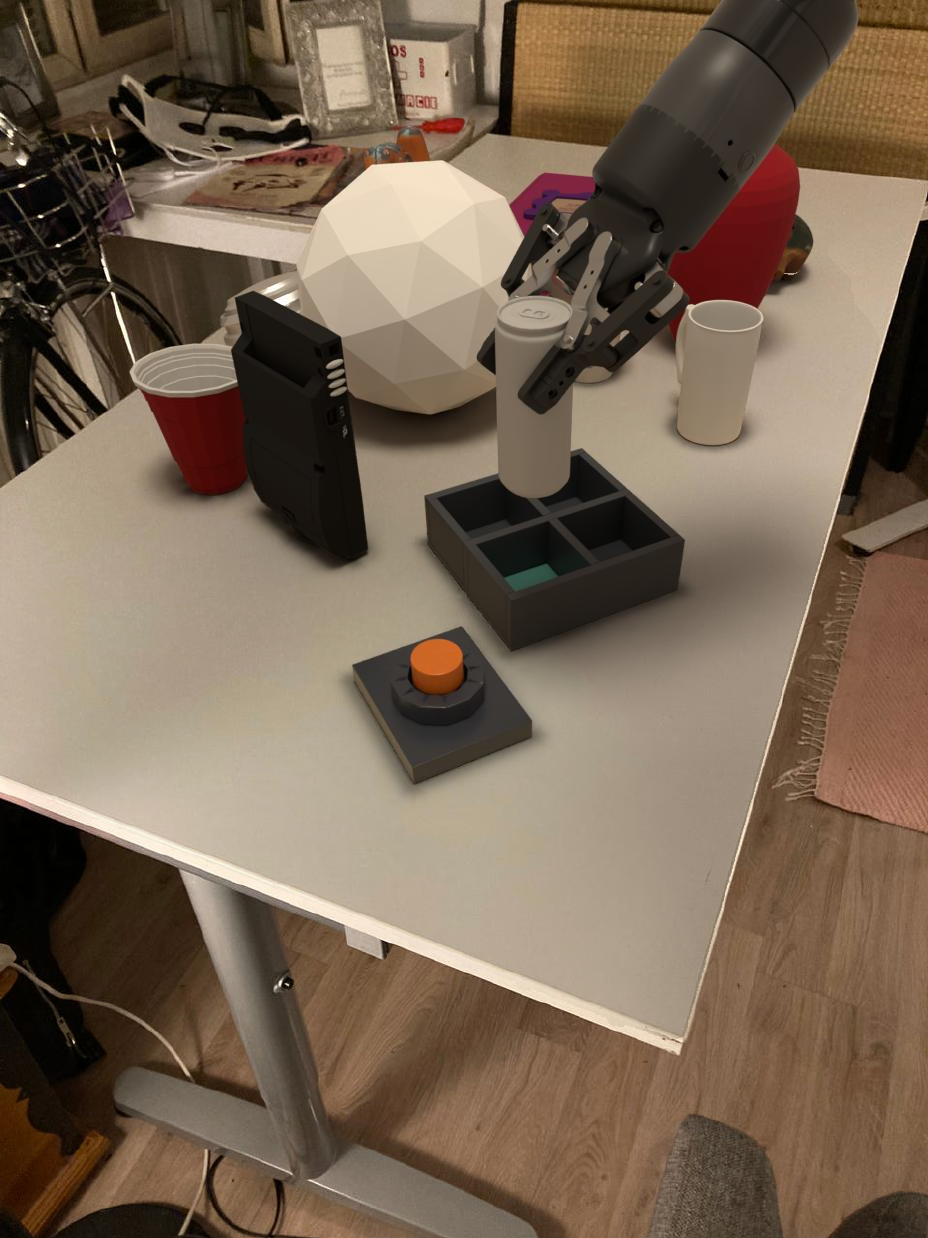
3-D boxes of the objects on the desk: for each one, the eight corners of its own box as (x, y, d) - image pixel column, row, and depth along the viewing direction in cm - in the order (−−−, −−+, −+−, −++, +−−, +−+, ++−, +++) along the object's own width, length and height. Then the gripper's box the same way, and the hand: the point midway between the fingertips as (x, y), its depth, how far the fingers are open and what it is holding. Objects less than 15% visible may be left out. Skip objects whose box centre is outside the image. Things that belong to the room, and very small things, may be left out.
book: (462, 297, 123) (460, 236, 118) (533, 220, 142) (534, 165, 137) (624, 319, 117) (629, 256, 112) (676, 236, 136) (682, 179, 131)
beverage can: (554, 508, 63) (558, 335, 55) (486, 492, 65) (481, 322, 57) (579, 469, 66) (587, 300, 58) (514, 456, 68) (513, 289, 60)
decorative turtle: (799, 250, 131) (815, 190, 125) (809, 305, 120) (827, 242, 115) (725, 245, 132) (738, 185, 126) (729, 299, 121) (743, 236, 116)
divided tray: (678, 589, 79) (685, 539, 76) (511, 651, 74) (511, 600, 71) (579, 495, 90) (582, 447, 86) (427, 544, 85) (423, 495, 81)
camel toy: (408, 223, 143) (398, 93, 132) (491, 234, 139) (489, 100, 127) (324, 290, 126) (305, 147, 115) (416, 304, 122) (405, 157, 110)
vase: (797, 345, 110) (860, 43, 91) (710, 387, 104) (758, 72, 84) (698, 304, 119) (735, 21, 99) (612, 341, 113) (633, 46, 93)
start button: (472, 685, 67) (471, 663, 66) (425, 702, 66) (423, 681, 65) (450, 653, 70) (448, 632, 69) (404, 669, 69) (402, 648, 67)
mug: (757, 437, 96) (779, 321, 88) (699, 454, 94) (717, 337, 86) (698, 393, 103) (713, 282, 95) (643, 407, 101) (654, 295, 93)
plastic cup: (298, 465, 95) (279, 351, 87) (221, 522, 88) (193, 404, 80) (216, 437, 99) (190, 325, 91) (137, 489, 93) (102, 373, 85)
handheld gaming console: (374, 552, 84) (348, 334, 71) (332, 575, 82) (297, 354, 69) (295, 495, 91) (258, 287, 78) (254, 515, 89) (209, 304, 76)
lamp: (533, 427, 87) (440, 142, 77) (232, 491, 104) (121, 263, 93) (594, 343, 105) (526, 102, 94) (329, 409, 121) (245, 209, 111)
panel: (532, 736, 68) (532, 702, 65) (414, 784, 65) (410, 749, 63) (462, 642, 75) (461, 607, 73) (354, 680, 72) (349, 646, 70)
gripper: (587, 74, 58) (417, 312, 62) (740, 134, 48) (526, 411, 53) (654, 153, 63) (492, 368, 68) (803, 222, 53) (604, 468, 58)
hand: (508, 386), depth 60 cm, fingers closed on beverage can, 5 cm apart
